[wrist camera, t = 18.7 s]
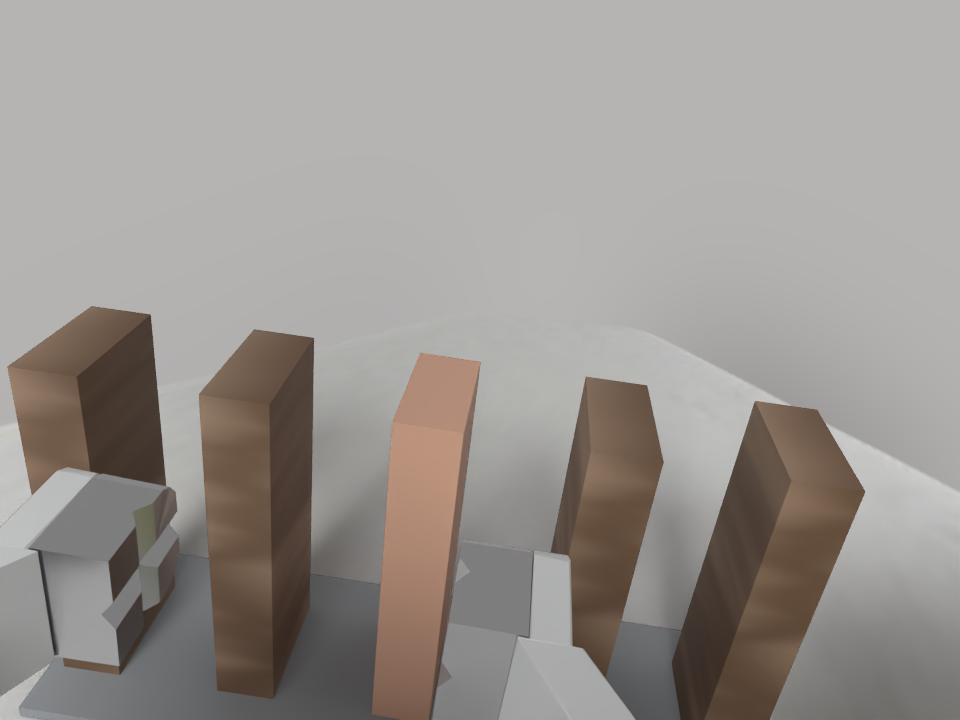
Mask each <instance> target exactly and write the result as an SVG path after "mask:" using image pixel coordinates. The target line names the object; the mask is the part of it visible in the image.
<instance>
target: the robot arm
mask: <svg viewBox="0 0 960 720" xmlns="http://www.w3.org/2000/svg"><path fill="white" fill-rule="evenodd" d="M176 512H177V502H176V492H175V491H174V490H173V489H171V488H170V487H167V486H162V485H157V484H152V483H147V482H142V481H137V480H132V479H127V478H122V477H117V476H112V475H107V474H98V473H94V472H89V471H84V470H79V469H74V468H69V467H67V468H64V469H61V470H58V471H56V472H55V473H54V474H53V475H52V476H51V477H50V478H49V479H48V480H47V481H46V482H45V483H44V484H43V485H42V486H41V487H40V488H39V489H38V490H37V491H36V492H35V493H34V494H33V495H32V496H31V497H30V498H29V499H28V500H27V501H26V502H25V503H24V504H23V505H22V506H21V507H20V508H19V509H18V510H17V511H16V512H15V513H14V514H13V515H12V516H11V517H10V518H9V519H8V520H7V521H6V522H5V523H4V524H3V525H2V526H1V527H0V696H2V695H3V694H5V693H6V692H8V691H9V690H11V689H12V688H14V687H15V686H17V685H18V684H20V683H21V682H23V681H24V680H26V679H27V678H29V677H30V676H32V675H33V674H35V673H36V672H38V671H39V670H41V669H42V668H44V667H45V666H47V665H48V664H50V663H51V662H53V661H55V657H62V658H68V659H75V660H82V661H88V662H95V663H101V664H108V665H115V666H120V665H121V663H122V661H123V660H124V658H125V657H126V655H127V654H128V652H129V650H130V649H131V647H132V646H133V644H134V643H135V641H136V639H137V638H138V636H139V635H140V633H141V632H142V630H143V628H144V617H143V611H145V610H147V609H149V608H150V607H152V606H154V605H156V604H158V603H159V602H160V601H161V600H162V598H163V596H164V595H165V593H166V591H167V590H168V588H169V586H170V583H171V581H172V578H173V575H174V572H175V569H176V566H177V560H178V553H179V536H178V534H177V533H176V532H175V531H174V529H173V528H172V527H171V526H170V524H169V522H170V521H171V519H172V518H173V516H174V515H175V514H176ZM432 720H636V719H635V718H634V716H633V715H632V714H631V712H630V711H629V710H628V708H627V707H626V706H625V704H624V703H623V702H622V700H621V699H620V698H619V696H618V695H617V693H616V692H615V691H614V689H613V688H612V687H611V685H610V684H609V683H608V681H607V680H606V679H605V677H604V676H603V675H602V673H601V672H600V670H599V669H598V668H597V666H596V665H595V664H594V662H593V661H592V660H591V658H590V657H589V656H588V654H587V653H586V651H585V650H584V649H583V648H578V647H573V646H572V598H571V560H570V558H569V557H568V555H562V554H555V553H549V552H543V551H536V550H533V552H532V551H531V550H526V549H520V548H514V547H508V546H502V545H496V544H490V543H484V542H478V541H472V540H467V539H463V540H462V546H461V551H460V557H459V562H458V568H457V573H456V579H455V584H454V590H453V597H452V602H451V608H450V613H449V619H448V625H447V631H446V637H445V643H444V648H443V654H442V661H441V667H440V673H439V679H438V685H437V691H436V697H435V704H434V710H433V716H432Z"/></svg>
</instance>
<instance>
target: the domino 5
mask: <svg viewBox="0 0 960 720" xmlns="http://www.w3.org/2000/svg"><path fill="white" fill-rule="evenodd" d="M864 493H865V490H864V489H863V487H862V485H861V484H860V482H859V480H858V478H857V477H856V475H855V473H854V472H853V470H852V468H851V467H850V465H849V463H848V461H847V460H846V458H845V456H844V455H843V453H842V451H841V450H840V448H839V446H838V444H837V443H836V441H835V439H834V438H833V436H832V434H831V433H830V431H829V429H828V427H827V426H826V424H825V422H824V421H823V419H822V417H821V416H820V414H819V412H818V411H817V410H814V409H807V408H801V407H794V406H787V405H780V404H773V403H766V402H759V401H755V403H754V406H753V409H752V412H751V415H750V418H749V422H748V425H747V428H746V431H745V434H744V437H743V440H742V443H741V447H740V450H739V453H738V456H737V459H736V462H735V465H734V469H733V472H732V475H731V478H730V481H729V484H728V487H727V490H726V494H725V497H724V500H723V503H722V506H721V509H720V512H719V515H718V519H717V522H716V525H715V528H714V531H713V534H712V537H711V541H710V544H709V547H708V550H707V553H706V556H705V559H704V562H703V566H702V569H701V572H700V575H699V578H698V581H697V584H696V588H695V591H694V594H693V597H692V600H691V603H690V606H689V609H688V613H687V616H686V619H685V622H684V625H683V628H682V631H681V634H680V638H679V641H678V644H677V647H676V650H675V653H674V656H673V660H672V669H673V675H674V681H675V687H676V693H677V700H678V706H679V712H680V718H681V720H769V719H770V717H771V714H772V712H773V709H774V707H775V705H776V702H777V700H778V698H779V695H780V693H781V690H782V688H783V686H784V683H785V681H786V679H787V676H788V674H789V671H790V669H791V667H792V664H793V662H794V660H795V657H796V655H797V652H798V650H799V648H800V645H801V643H802V641H803V638H804V636H805V634H806V631H807V629H808V626H809V624H810V622H811V619H812V617H813V615H814V612H815V610H816V607H817V605H818V603H819V600H820V598H821V596H822V593H823V591H824V588H825V586H826V584H827V581H828V579H829V577H830V574H831V572H832V569H833V567H834V565H835V562H836V560H837V558H838V555H839V553H840V550H841V548H842V546H843V543H844V541H845V539H846V536H847V534H848V531H849V529H850V527H851V524H852V522H853V520H854V517H855V515H856V512H857V510H858V508H859V505H860V503H861V501H862V498H863V496H864Z"/></svg>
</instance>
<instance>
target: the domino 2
mask: <svg viewBox="0 0 960 720" xmlns="http://www.w3.org/2000/svg"><path fill="white" fill-rule="evenodd" d="M313 365H314V338H310V337H303V336H296V335H290V334H282V333H276V332H269V331H261V330H253V332H252V333H251V334H250V335H249V336H248V337H247V339H246V340H245V341H244V342H243V343H242V345H241V346H240V347H239V348H238V349H237V350H236V352H235V353H234V354H233V355H232V356H231V357H230V359H229V360H228V361H227V362H226V363H225V365H224V366H223V367H222V368H221V369H220V370H219V371H218V373H217V374H216V375H215V376H214V377H213V378H212V380H211V381H210V382H209V383H208V384H207V386H206V387H205V388H204V389H203V390H202V391H201V393H200V394H199V405H200V421H201V437H202V453H203V469H204V485H205V501H206V517H207V533H208V549H209V565H210V581H211V597H212V613H213V629H214V645H215V661H216V677H217V691H224V692H230V693H236V694H243V695H249V696H255V697H262V698H268V699H274V697H275V694H276V692H277V689H278V687H279V684H280V681H281V679H282V676H283V674H284V671H285V669H286V666H287V664H288V661H289V659H290V656H291V653H292V651H293V648H294V646H295V643H296V641H297V638H298V636H299V633H300V631H301V628H302V625H303V623H304V620H305V618H306V615H307V613H308V610H309V608H310V557H311V493H312V429H313Z"/></svg>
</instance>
